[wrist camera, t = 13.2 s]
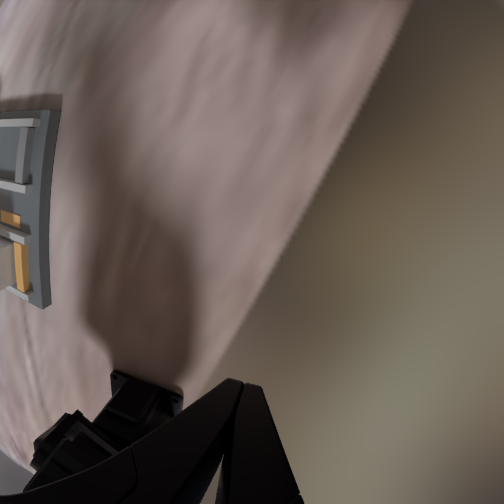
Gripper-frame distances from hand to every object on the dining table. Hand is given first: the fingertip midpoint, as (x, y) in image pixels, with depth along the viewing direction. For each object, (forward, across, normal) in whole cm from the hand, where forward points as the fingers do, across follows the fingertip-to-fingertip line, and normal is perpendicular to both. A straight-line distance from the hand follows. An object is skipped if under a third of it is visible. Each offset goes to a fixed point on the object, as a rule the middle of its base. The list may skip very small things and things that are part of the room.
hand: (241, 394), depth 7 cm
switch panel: (+12, +26, +1) cm, 29 cm away
